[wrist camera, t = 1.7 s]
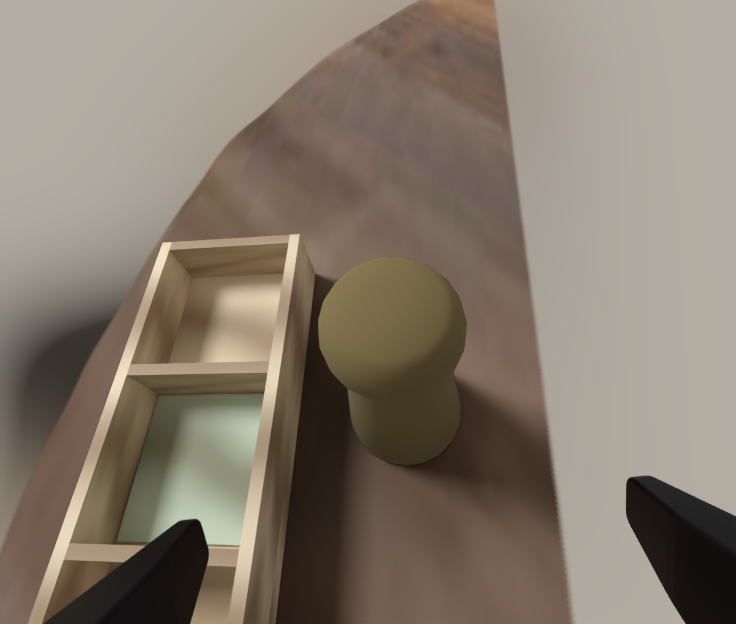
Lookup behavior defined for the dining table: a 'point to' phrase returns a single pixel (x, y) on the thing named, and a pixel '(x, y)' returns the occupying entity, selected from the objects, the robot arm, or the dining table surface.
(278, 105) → the dining table surface
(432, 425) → the cork
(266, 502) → the wooden compartment tray
